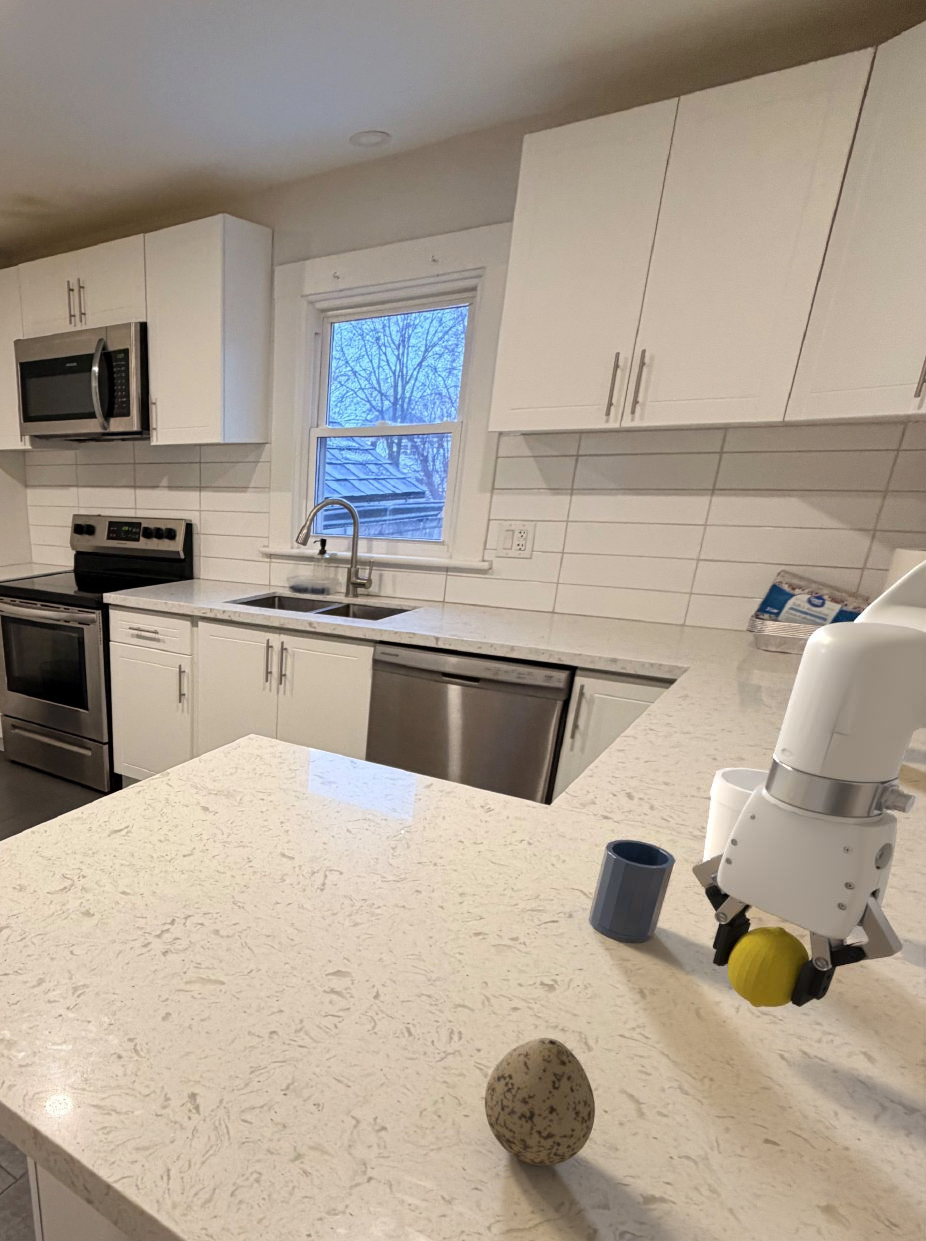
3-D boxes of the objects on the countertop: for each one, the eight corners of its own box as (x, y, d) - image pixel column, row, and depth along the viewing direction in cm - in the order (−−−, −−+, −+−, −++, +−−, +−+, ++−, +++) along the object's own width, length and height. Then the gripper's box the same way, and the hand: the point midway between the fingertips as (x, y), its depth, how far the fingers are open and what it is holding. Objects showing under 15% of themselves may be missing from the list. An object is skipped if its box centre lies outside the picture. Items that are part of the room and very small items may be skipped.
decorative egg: (521, 1100, 63) (544, 998, 59) (602, 1166, 57) (634, 1058, 53) (456, 1134, 60) (475, 1028, 56) (534, 1207, 54) (563, 1095, 50)
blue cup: (667, 933, 85) (688, 859, 82) (629, 949, 83) (650, 873, 79) (613, 905, 91) (631, 835, 87) (576, 919, 88) (593, 847, 84)
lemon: (703, 988, 72) (725, 912, 69) (762, 984, 72) (786, 908, 69) (747, 1029, 67) (774, 949, 63) (810, 1025, 67) (839, 945, 64)
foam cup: (770, 873, 98) (803, 775, 93) (787, 909, 90) (824, 804, 85) (682, 857, 101) (709, 762, 96) (691, 890, 94) (720, 789, 89)
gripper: (993, 817, 56) (906, 1023, 63) (738, 745, 70) (690, 920, 77) (943, 841, 53) (857, 1056, 60) (686, 761, 67) (641, 942, 74)
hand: (764, 978), depth 68 cm, fingers closed on lemon, 5 cm apart
